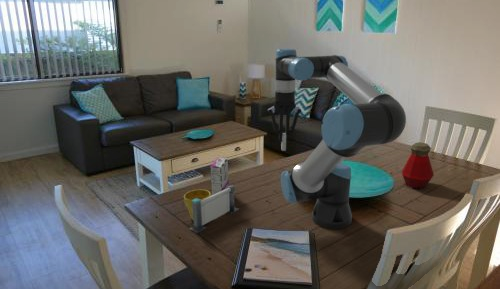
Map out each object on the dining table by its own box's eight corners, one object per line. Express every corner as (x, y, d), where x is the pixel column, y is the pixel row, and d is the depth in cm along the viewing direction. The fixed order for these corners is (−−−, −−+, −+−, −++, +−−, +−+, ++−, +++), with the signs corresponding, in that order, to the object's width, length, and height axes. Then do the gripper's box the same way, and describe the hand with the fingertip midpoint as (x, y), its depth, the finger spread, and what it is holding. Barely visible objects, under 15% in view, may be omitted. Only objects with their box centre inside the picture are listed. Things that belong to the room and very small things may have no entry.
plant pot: (190, 226, 144) (188, 202, 141) (182, 215, 153) (180, 192, 150) (216, 219, 148) (214, 195, 146) (207, 209, 157) (205, 187, 155)
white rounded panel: (231, 206, 158) (231, 184, 155) (236, 208, 157) (235, 186, 154) (198, 223, 145) (197, 200, 142) (203, 226, 143) (202, 202, 140)
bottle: (422, 194, 171) (428, 151, 164) (393, 185, 180) (398, 144, 174) (437, 185, 180) (444, 144, 174) (410, 176, 190) (415, 137, 184)
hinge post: (239, 209, 157) (239, 191, 155) (232, 213, 154) (231, 194, 151) (231, 206, 160) (230, 188, 157) (224, 210, 157) (223, 191, 154)
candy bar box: (218, 191, 174) (217, 157, 169) (229, 192, 173) (228, 157, 168) (211, 202, 164) (209, 166, 159) (222, 203, 163) (221, 167, 158)
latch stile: (206, 228, 143) (204, 199, 140) (197, 233, 140) (196, 203, 136) (197, 224, 146) (196, 196, 142) (189, 229, 143) (187, 200, 139)
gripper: (300, 88, 150) (298, 146, 158) (267, 89, 150) (266, 146, 157) (303, 92, 143) (301, 152, 151) (268, 92, 143) (268, 152, 150)
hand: (283, 149), depth 154 cm, fingers closed
